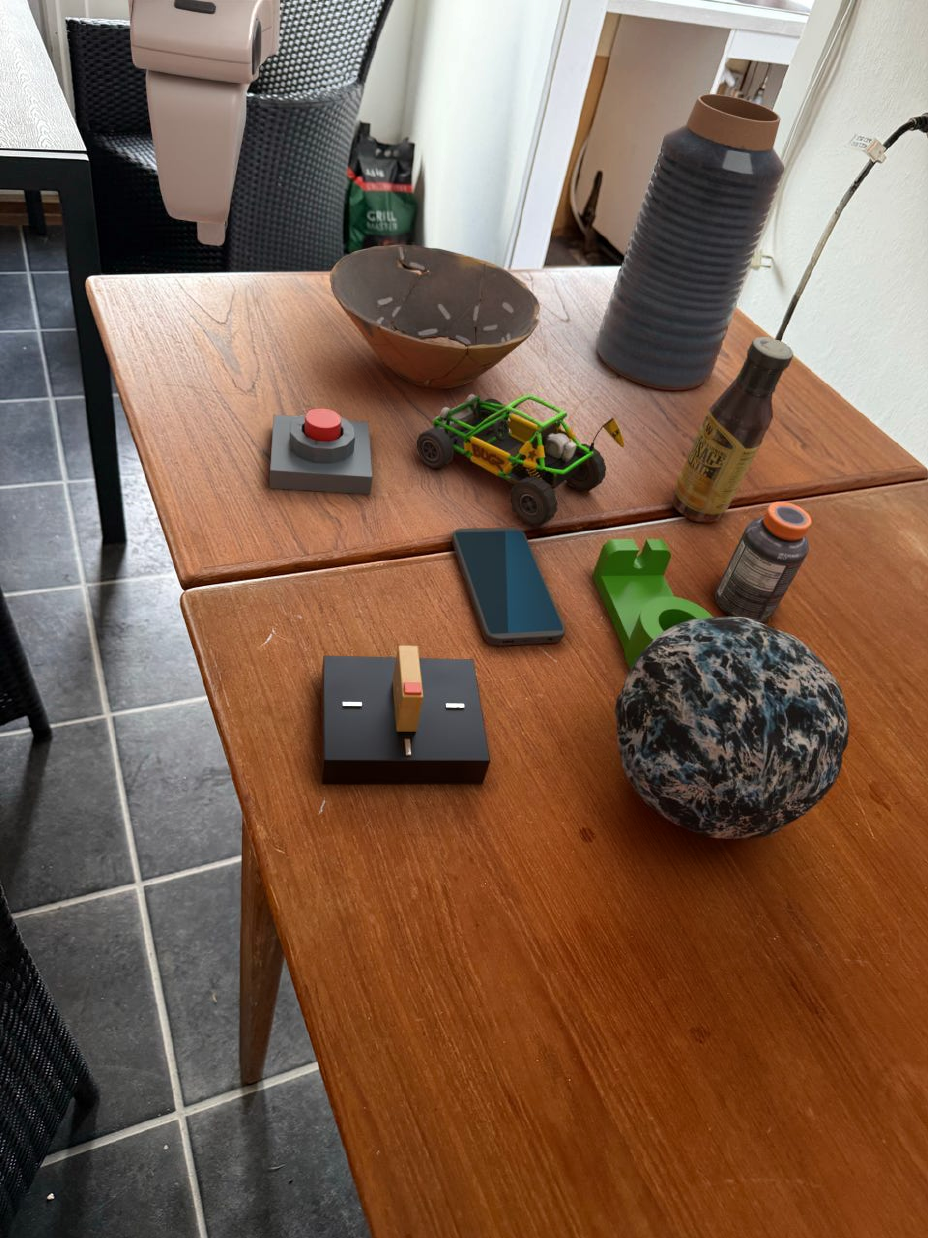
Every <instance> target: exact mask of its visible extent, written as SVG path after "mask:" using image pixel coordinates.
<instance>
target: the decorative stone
mask: <svg viewBox="0 0 928 1238" xmlns="http://www.w3.org/2000/svg"><path fill="white" fill-rule="evenodd" d="M712 617H713V618H705V619H693V620H689V621H686V622H683V623H680V624H678V625H675V626H673V627H671V628H669V629H668V630H666V631H664V632H663V633H661V634H660V635H659V636H657V637H656V638H655V639H654V640H653V641H652V642H651V643H650V644H649V646H648V647H647V648H646V649H645V650H644V651H643V652H642V653H641V654H640V655H639V656H638V658H637V659H636V661H635V662H634V664H633V666H632V668H631V669H630V670H629V672H628V674H627V675H626V677H625V680H624V683H623V686H622V688H621V690H620V693H619V694H618V695H617V697H616V701H615V708H614V712H615V719H616V738H617V740H616V741H617V748H618V752H619V758H620V763H621V767H622V769H623V771H624V773H625V775H626V777H627V779H628V781H629V782H630V784H631V785H632V787H633V788H634V790H635V791H636V792H637V794H638V795H639V797H640V798H641V799H642V800H643V801H644V802H645V803H646V805H648V806H649V807H650V808H651V809H653V810H654V811H655V812H656V813H658V814H659V815H660V816H661V817H663V818H664V819H666V820H667V821H670V822H671V823H673V824H675V825H677V826H679V827H681V828H684V829H687V830H689V831H691V832H694V833H696V834H699V835H702V836H705V837H708V838H714V839H721V840H751V839H758V838H762V837H767V836H770V835H773V834H776V833H777V832H779V831H781V830H783V829H785V828H786V827H787V826H789V825H790V824H791V823H793V822H795V821H797V820H798V819H800V818H801V817H803V816H804V815H807V814H808V813H809V812H810V811H811V810H812V809H814V807H815V806H816V805H817V804H818V803H820V802H821V801H822V800H823V799H824V798H825V796H826V795H827V794H828V793H829V791H830V790H831V789H832V788H833V787H834V785H835V784H836V781H837V779H838V777H839V775H840V773H841V769H842V764H843V754H844V752H845V750H846V749H847V746H848V743H849V738H850V725H849V715H848V710H847V706H846V703H845V699H844V695H843V691H842V687H841V685H840V683H839V681H838V680H837V679H836V676H835V675H834V674H833V673H832V672H831V671H830V670H829V668H828V667H827V666H826V665H825V664H824V662H823V661H822V660H821V659H820V658H819V657H818V656H817V655H816V654H815V653H814V652H813V651H812V650H811V649H810V648H809V647H808V646H807V645H806V644H805V643H804V642H803V641H802V640H801V639H799V638H797V637H796V636H795V635H793V634H790V633H788V632H785V631H783V630H779V629H777V628H773V627H772V626H769V625H766V624H764V623H760V622H757V621H755V620H752V619H749V618H744V617H733V616H730V615H728V616H712Z"/></svg>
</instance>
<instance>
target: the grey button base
mask: <svg viewBox="0 0 928 1238" xmlns="http://www.w3.org/2000/svg"><path fill="white" fill-rule="evenodd" d="M305 415H306V413H303V414H299V415H287V414H286V415H285V414H273V417H272V418H273V419H272V431H271V433H272V434H271V449H270V462H269V463H270V464H269V489H276V490H277V489H278V490H291V491H292V490H293V491H294V490H295V491H307V492H308V491H310V492H322V493H323V492H325V493H339V494H341V493H343V494H355V495H356V494H357V495H358V494H359V495H371V494H372V486H373V466H372V465H373V464H372V463H373V462H372V449H371V437H370V424H369V423H370V422H369V421H363V420H362V421H361V420H351V419H350V420H348V419H346V418H344V417H342V416H340V417H341V432H340V437H339V438H338V439H337V440H334V441H330V442H322V441H315V440H313V439H310V438H308V437H307V436H306V434H305V431H304V430H305Z"/></svg>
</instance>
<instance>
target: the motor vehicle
mask: <svg viewBox="0 0 928 1238" xmlns="http://www.w3.org/2000/svg"><path fill="white" fill-rule="evenodd" d="M528 400H529V401H533V402H536V403H538V404H541V405H543V407H547V408H548V409H550V410H552V411H553V412H556V413H557V414H555V415H554V416H552V417H550V418H549V419H546V420H545V421H543V422H541V421H539V420H537V419H535V418H534V417H532V416H530V415H528V414H526V413H524V412H523V411H521V410H519V409H516V408H517V407H519V405H521V404H523V403H524V402H526V401H528ZM511 413H512V414H511ZM567 416H568V413H567V411H565V410H563V409H561V408H559V407H557V406H555V405H554V404H552V403H550V402H548V401H546V400H544V399H542V398H540V397H538V396H535V395H532V394H525V395H523V396H521V397H519V398H517V399H515V400H514V401H512V402H510V403H509V404H507V405H504V404H503V403H502V402H501V401H499V400H498V399H496V398H486V399H484V400H482V399H481V398H480V396H477V395H476V394H473V393H471V394H468V396H467V397H466V400H465V402H463V403H460V404H458V405H456V406H455V407H453V408H451V409H450V408H449V407H447V406H445V407H443V408H442V409H441V410H440V413H439V415H438V416H435V417H433V420H432V425H433V427H431V428H429V429H426V430H425V431H423V432H422V433H420V434H419V435H418V436H417V438H416V444H415V445H416V451H417V454H418V456H419V458H420V460H421V461H422V462H423V463H424V464H425V465H426V466H427V467H429V468H432V469H440V468H441V467H444V466H445V465H447V464H448V463H450V462H451V461H452V459H453V458H454V452H455V451H457V452H458V453H460V454H461V455H463V456H465V457H467V458H468V459H470V462H472V463H474V464H475V465H477V466H479V467H480V468H482V469H485V471H488V472H490V473H492V474H493V475H495V476H497V477H501V478H502V479H504V480H506V481H508V482H510V483H512V484H513V486H512V488H511V490H510V492H509V503H510V506H511V511H512V512H513V513H514V514H515V515H516V518H517V519H518V520H520V521H521V522H522V523H523V524H524V525H528V526H529V527H538V528H539V527H542V526H543V525H544V524H545V525H546V523H548V522H549V521H551V520H552V519H553V518H554V517H555V515H556V513H557V512H558V504H559V503H558V499H557V497H556V495H557V494H556V492H555V490H554V489H555V488H557V487H559V486H560V485H562V484H564V482H566V484H567V485H568V486H570V487H571V488H572V489H573V490H577V491H578V492H590V491H591V490H593V489H595V488H596V487H598V486H599V485H600V484H602V483H603V480H604V479H605V478H606V475H607V474H606V472H607V465H606V462H605V459H604V456H603V455H602V454H601V452H600V451H599V450H598V449H596V448H595V440H596V438H597V436H598V435H599V433H600V432H601V431H602V429H604V430H605V431H606V432H607V433H608V435H609V436H610V437H611V438H612V439H613V440H614V441H615V443H616V444H617V445H619V447H621V448H625V442H624V437H623V434H622V432H621V429H620V426H619V425H618V422H617V421H616V419H615V418H614V417H611V418H610V419H609V420H608V421H606V422H605V423H604V424H603V425H602V426H601V427H600V429H599V430H598V431H597V432H596V434H595V436H594V438H593V440H592V442H591V443H590V445H589V444H587V443H580V442H579V441H578V439H577V435H576V433H574V431H573V429H572V428H571V427H570V426H568V425H567V424H566V422H565V418H567ZM562 428H563V429H562Z"/></svg>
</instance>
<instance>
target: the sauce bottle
mask: <svg viewBox="0 0 928 1238" xmlns="http://www.w3.org/2000/svg"><path fill="white" fill-rule="evenodd" d="M746 353H747V354H746V358H745V360H744V362H743V365H742V366H741V369H740V371H739V373H738V375H737V376H736V378H734V380H733V381H732V383H730V384H729V386H728V387H727V388H726V389H725V390H724V391H723V393H721V395H720V396H719V397H718V398H717V399H716V401H715V402H713V404H712V405H711V406H710V407H709V409H708V411H707V413H706V415H705V417H704V419H703V421H702V423H701V426H700V428H699V430H698V433H697V435H696V437H695V438H694V441H693V444H692V445H691V448H690V450H689V453H688V455H687V457H686V459H685V462H684V464H683V466H682V468H681V470H680V473H679V474H678V477H677V479H676V481H675V484H674V488H673V491H672V494H671V503H672V506H673V507H674V509H675V510H676V511H677V512H678V513H679V514H680V515H682V516H684V517H685V518H686V519H688V520H689V521H692V522H698V523H704V524H708V523H714V522H717V521H719V520H720V519H721V518H723V516H724V515H725V513H726V511H727V510H728V509H729V507H730V505H731V503H732V501H733V499H734V498H735V496H736V494H737V492H738V490H739V488H740V486H741V483H742V482H743V480H744V478H745V476H746V474H747V472H748V470H749V468H750V466H751V464H752V462H753V460H754V458H755V456H756V455H757V453H758V451H759V449H760V447H761V446H762V443H763V439H764V437H765V435H766V433H767V431H768V429H769V428H770V425H771V423H772V420H773V419H774V409H773V394H774V393H775V392H776V387H777V386H778V383H779V381H780V379H781V377H782V375H783V373H784V371H786V369H788V367H789V366H790V364H791V362H792V359H793V357H794V352H793V350H792V348H791V347H790V346H789V345H787V343H785V342H783V341H781V340H779V339H777V338H773V337H769V336H758V337H755V338H754V339H753V340H752V341H751V344H750V345H749V348H748V349H747V352H746Z"/></svg>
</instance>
